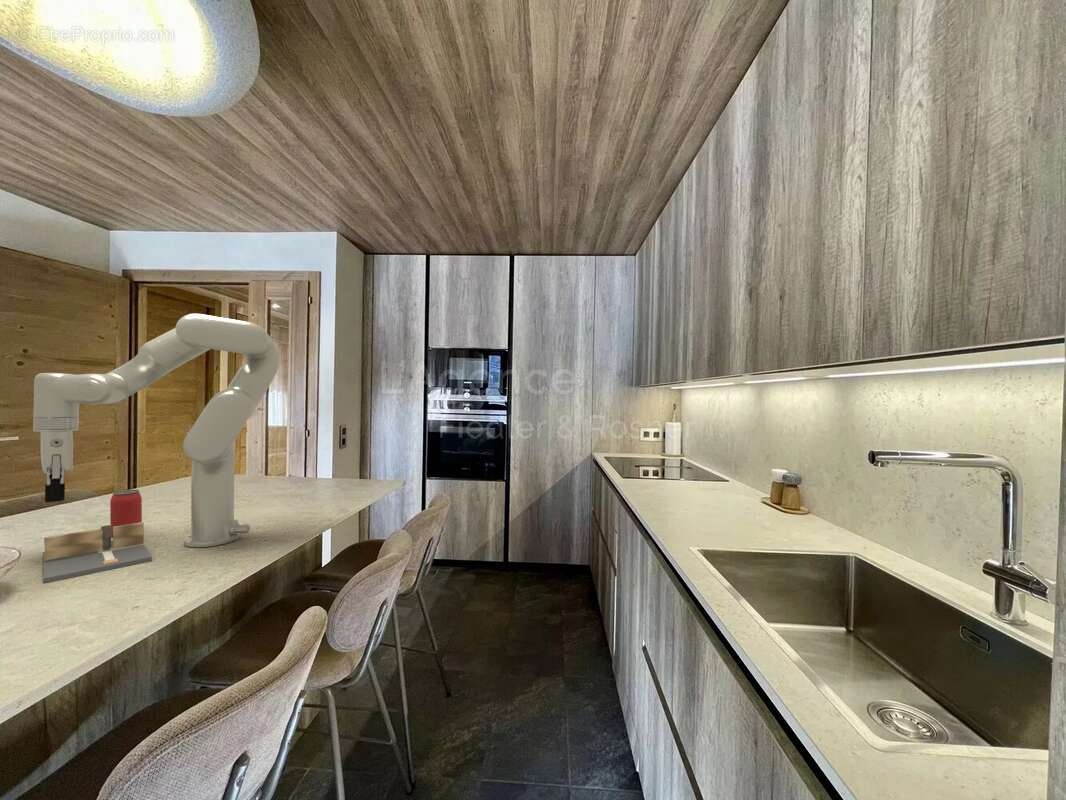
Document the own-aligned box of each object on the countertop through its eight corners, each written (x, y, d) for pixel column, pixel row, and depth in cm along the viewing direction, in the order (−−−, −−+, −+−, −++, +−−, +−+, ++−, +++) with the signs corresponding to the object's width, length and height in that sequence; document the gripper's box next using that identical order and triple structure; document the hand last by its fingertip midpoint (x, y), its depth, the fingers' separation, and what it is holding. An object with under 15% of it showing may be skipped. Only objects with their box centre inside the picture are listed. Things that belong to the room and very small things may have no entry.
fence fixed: (143, 543, 117) (142, 522, 117) (143, 544, 116) (143, 522, 116) (113, 548, 113) (112, 526, 113) (113, 549, 112) (113, 527, 112)
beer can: (127, 538, 124) (127, 494, 123) (103, 537, 124) (103, 494, 124) (148, 530, 130) (147, 489, 130) (125, 530, 130) (125, 488, 130)
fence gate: (110, 546, 113) (110, 524, 113) (111, 548, 111) (111, 526, 111) (44, 558, 104) (44, 534, 104) (44, 560, 103) (44, 536, 103)
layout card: (138, 539, 123) (138, 535, 123) (152, 560, 108) (151, 556, 108) (43, 556, 110) (42, 551, 110) (43, 583, 95) (43, 577, 95)
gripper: (80, 426, 106) (78, 504, 106) (76, 422, 116) (75, 493, 117) (32, 427, 101) (31, 509, 101) (33, 422, 111) (31, 497, 111)
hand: (54, 500), depth 109 cm, fingers closed
